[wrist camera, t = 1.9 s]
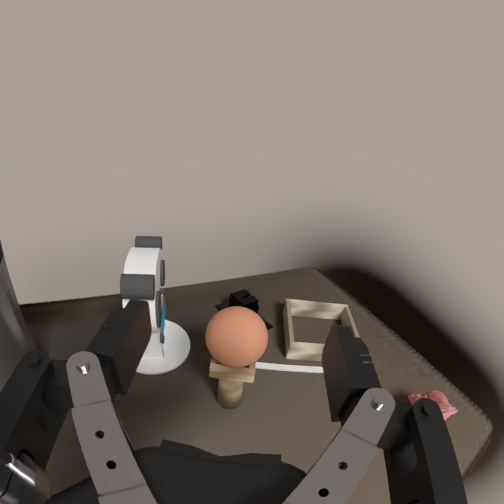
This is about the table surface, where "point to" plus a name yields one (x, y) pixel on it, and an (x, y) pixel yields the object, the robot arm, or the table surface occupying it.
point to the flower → (439, 399)
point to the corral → (316, 311)
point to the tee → (231, 382)
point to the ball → (236, 336)
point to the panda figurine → (153, 306)
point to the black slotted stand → (243, 303)
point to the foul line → (289, 367)
